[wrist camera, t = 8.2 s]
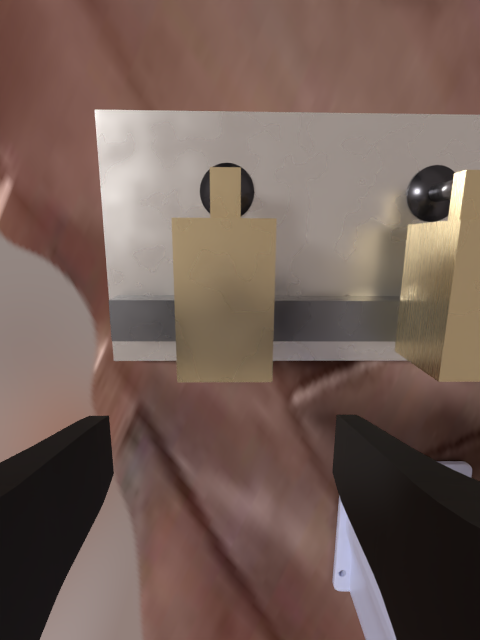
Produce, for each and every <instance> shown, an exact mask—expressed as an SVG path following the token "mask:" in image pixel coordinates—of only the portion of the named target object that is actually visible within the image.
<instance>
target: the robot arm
mask: <svg viewBox="0 0 480 640" xmlns="http://www.w3.org/2000/svg"><path fill="white" fill-rule="evenodd" d="M113 474H114V472H113V459H112V447H111V435H110V423H109V416H88V417H86V418H84V419H81V420H79V421H77V422H75V423H74V424H72V425H70V426H68V427H66V428H64V429H63V430H61V431H59V432H57V433H55V434H54V435H52V436H50V437H48V438H47V439H45V440H43V441H41V442H39V443H38V444H36V445H34V446H32V447H30V448H28V449H26V450H24V451H22V452H20V453H18V454H16V455H15V456H12V457H10V458H9V459H7V460H5V461H3V462H1V463H0V640H40V637H41V634H42V632H43V630H44V627H45V625H46V622H47V620H48V617H49V615H50V612H51V610H52V607H53V605H54V602H55V600H56V597H57V595H58V593H59V591H60V589H61V586H62V584H63V582H64V580H65V578H66V576H67V574H68V572H69V570H70V568H71V566H72V564H73V562H74V560H75V558H76V556H77V554H78V552H79V550H80V548H81V547H82V544H83V542H84V541H85V539H86V537H87V535H88V533H89V531H90V529H91V527H92V525H93V523H94V521H95V519H96V517H97V515H98V513H99V511H100V509H101V507H102V505H103V502H104V500H105V497H106V494H107V492H108V489H109V486H110V483H111V480H112V477H113ZM333 475H334V479H335V482H336V486H337V489H338V493H339V505H338V518H337V531H336V544H335V556H334V569H333V585H334V588H335V589H336V590H337V591H350V593H351V596H352V599H353V602H354V605H355V608H356V611H357V614H358V617H359V620H360V623H361V626H362V629H363V632H364V635H365V638H366V640H480V481H477V480H475V479H473V478H471V476H472V467H471V466H470V465H469V464H468V463H466V462H464V461H435V460H433V459H431V458H430V457H428V456H426V455H424V454H422V453H420V452H418V451H417V450H415V449H413V448H411V447H410V446H408V445H406V444H405V443H403V442H401V441H400V440H398V439H396V438H395V437H393V436H391V435H390V434H388V433H386V432H385V431H383V430H382V429H380V428H378V427H377V426H375V425H373V424H372V423H370V422H368V421H367V420H365V419H363V418H361V417H359V416H357V415H337V417H336V431H335V445H334V459H333ZM341 570H343V571H341Z"/></svg>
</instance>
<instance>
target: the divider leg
mask: <svg viewBox="0 0 480 640" xmlns="http://www.w3.org/2000/svg"><path fill="white" fill-rule="evenodd" d="M276 225H277V218H241V167H210V218H172V246H173V275H174V303H175V331H176V359H177V382H272V369H273V333H274V297H275V261H276Z"/></svg>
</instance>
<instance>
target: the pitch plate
mask: <svg viewBox="0 0 480 640" xmlns="http://www.w3.org/2000/svg"><path fill="white" fill-rule="evenodd" d="M95 120H96V133H97V146H98V159H99V172H100V185H101V198H102V211H103V225H104V238H105V251H106V264H107V277H108V290H109V310H110V324H111V337H112V342H113V355H114V361H177V359H176V331H175V303H174V275H173V246H172V218H210V167H241V218H277V225H276V261H275V297H274V333H273V361H409V362H411V363H412V364H414V365H415V366H417V367H418V368H419V369H421V370H422V371H424V372H425V373H427V374H428V375H430V376H431V377H433V378H434V379H435V380H437V381H438V382H480V115H449V114H375V113H301V112H227V111H153V110H95Z"/></svg>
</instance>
